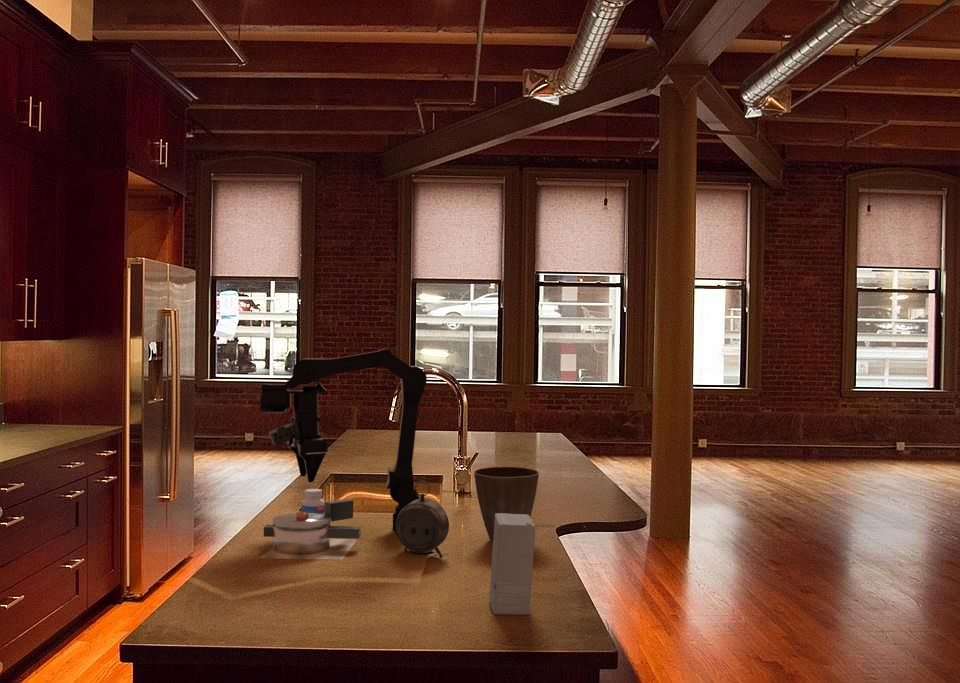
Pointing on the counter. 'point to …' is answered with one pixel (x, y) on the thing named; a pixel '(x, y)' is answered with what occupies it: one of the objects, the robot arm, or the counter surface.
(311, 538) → the cooker pot
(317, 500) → the pill bottle
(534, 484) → the plant pot
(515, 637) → the counter surface
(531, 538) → the skincare box
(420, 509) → the alarm clock
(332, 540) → the trivet
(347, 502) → the lid
